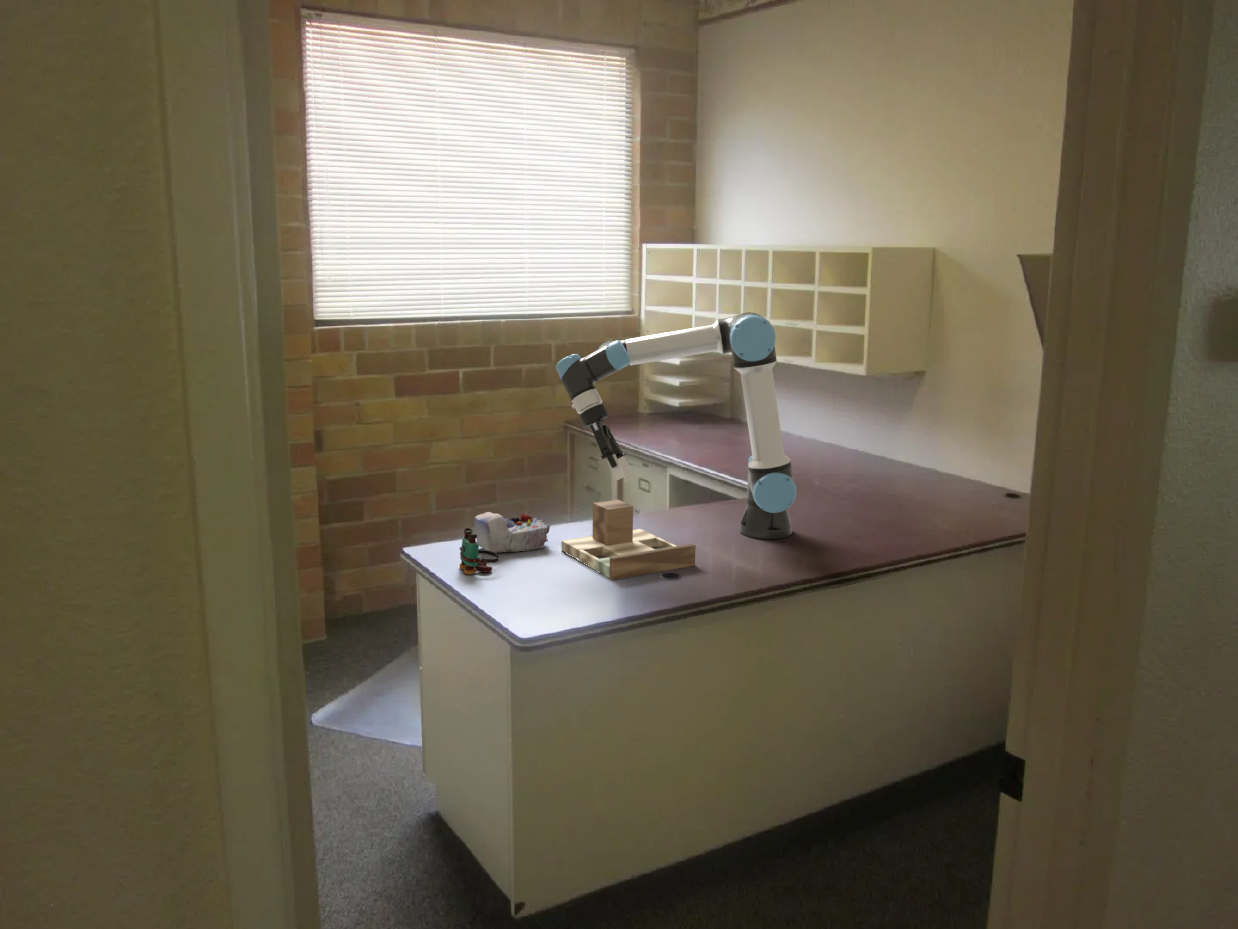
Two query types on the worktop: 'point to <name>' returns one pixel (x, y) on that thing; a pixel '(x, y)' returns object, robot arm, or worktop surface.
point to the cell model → (510, 533)
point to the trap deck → (631, 555)
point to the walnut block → (612, 522)
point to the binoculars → (474, 555)
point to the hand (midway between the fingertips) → (625, 479)
